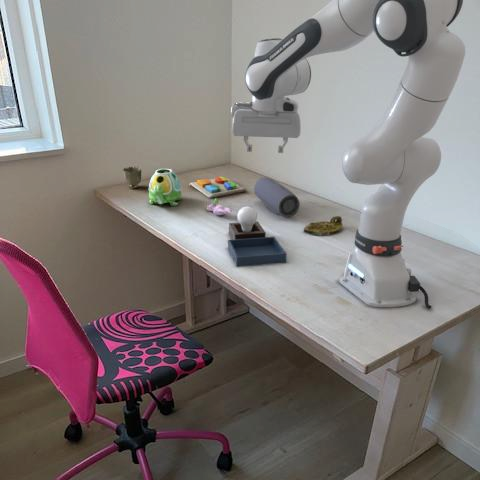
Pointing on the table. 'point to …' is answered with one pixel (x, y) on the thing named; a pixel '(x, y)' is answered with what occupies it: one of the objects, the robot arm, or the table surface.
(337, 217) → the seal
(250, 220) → the lightbulb
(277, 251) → the tray
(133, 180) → the cup
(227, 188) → the puzzle board
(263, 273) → the table surface
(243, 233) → the stand
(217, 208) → the rabbit figure
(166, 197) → the turtle holder
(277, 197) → the bluetooth speaker
